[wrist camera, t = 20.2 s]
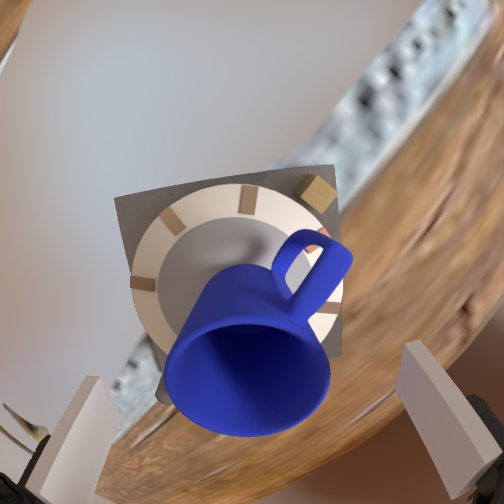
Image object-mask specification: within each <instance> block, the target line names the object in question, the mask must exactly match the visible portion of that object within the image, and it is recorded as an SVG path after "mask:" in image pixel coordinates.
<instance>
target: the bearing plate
mask: <svg viewBox="0 0 504 504" xmlns="http://www.w3.org/2000/svg"><path fill="white" fill-rule="evenodd" d="M230 183H237V184H251V185H257V186H262V187H265V188H269V189H272V190H275V191H277V192H279V193H281V194H283V195H286V196H288V197H289V198H291V199H292V200H294V201H295V202H297V203H298V204H300V205H301V206H303V207H304V208H305V209H306V210H308V211H309V212H310V213H311V214H312V215H313V216H314V217H315V218H316V219H317V220H318V221H319V222H320V223H321V225H322V226H323V227H325V229H326V230H327V232H328V233H329V235H330V236H331V238H332V239H333V240H335V241H337V242H338V243H340V227H339V212H338V200H337V195H338V192H337V188H336V178H335V168H334V165H323V166H311V167H301V168H291V169H282V170H273V171H265V172H257V173H249V174H243V175H235V176H228V177H222V178H215V179H209V180H203V181H197V182H191V183H185V184H180V185H174V186H169V187H164V188H158V189H153V190H149V191H144V192H139V193H135V194H130V195H125V196H121V197H116V198H114V200H115V205H116V211H117V216H118V221H119V225H120V230H121V235H122V239H123V244H124V248H125V252H126V256H127V260H128V264H129V268H130V272H131V275H132V267H133V261H134V257H135V254H136V251H137V248H138V245H139V243H140V241H141V239H142V237H143V235H144V234H145V232H146V231H147V229H148V228H149V226H150V225H151V224H152V222H153V221H154V220H155V219H156V218H157V217H158V216H159V214H160V213H161V212H163V211H164V210H165V209H166V208H167V207H168V206H170V205H172V204H173V203H175V202H177V201H178V200H180V199H182V198H183V197H185V196H187V195H189V194H191V193H194V192H196V191H198V190H201V189H203V188H207V187H211V186H215V185H221V184H230ZM341 303H342V299H341ZM149 336H150V335H149ZM150 339H151V342H152V344H153V347H154V350H155V353H156V356H157V358H158V361H159V364H160V367H161V369H162V372H163V371H164V367H165V362H166V359H167V356H168V355H167V354H166V353H165V352H164V351H163V350H162V349H161V348H160V347H159V346H158V345H157V344H156V343H155V342H154V341H153V339H152V338H151V337H150ZM320 344H321V346H322V347H323V349H324V351H325V353H326V355H327V358H332V357H338V356H341V352H342V305H341V309H340V312H339V314H337V317H336V319H335V321H334V324H333V326H332V328H331V329H330V331H329V332H328V334H327V335H326V337H325V338H324V340H323V341H322V342H321V343H320Z"/></svg>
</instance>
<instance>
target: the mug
mask: <svg viewBox="0 0 504 504" xmlns="http://www.w3.org/2000/svg"><path fill="white" fill-rule="evenodd" d="M310 245H318V246H320V247H321V248H323V250H322V253H321V254H320V256H319V257H318V259H317V260H316V262H315V264H314V265H313V267H312V268H311V270H310V271H309V273H308V274H307V276H306V277H305V278H304V280H303V281H302V283H301V284H300V286H299V287H298V289H297V290H296V291H295V293H294V294H292V292H291V290H290V288H289V287H288V285H287V283H286V280H285V276H286V273H287V271H288V270H289V268H290V266H291V265H292V263H293V262H294V260H295V259H296V257H297V256H298V255H299V254H300V253H301V252H302V251H303V250H304V249H305V248H306V247H308V246H310ZM352 262H353V256H352V254H351V252H350V251H349V250H348V249H346V248H345V247H344V246H343V245H342V244H340V243H338V242H337V241H335V240H333V239H332V238H330V237H328V236H326V235H324V234H322V233H320V232H318V231H315V230H311V229H300V230H298V231H295V232H294V233H292V234H291V235H290V236H289V237H288V238H287V240H286V241H285V242H284V243H283V245H282V246H281V247H280V249H279V251H278V252H277V254H276V256H275V258H274V260H273V262H272V266H271V270H269V269H267V268H265V267H262V266H259V265H255V264H238V265H234V266H230V267H228V268H225V269H223V270H222V271H220V272H218V273H217V274H216V275H214V276H213V277H212V278H211V279H210V280H209V281H208V283H207V284H206V286H205V287H204V289H203V290H202V292H201V294H200V296H199V298H198V300H197V301H196V303H195V305H194V307H193V309H192V311H191V312H190V314H189V316H188V318H187V320H186V322H185V324H184V325H183V327H182V329H181V331H180V333H179V335H178V337H177V339H176V340H175V342H174V344H173V346H172V348H171V350H170V352H169V354H168V356H167V359H166V362H165V367H164V382H165V387H166V390H167V393H168V395H169V397H170V398H171V400H172V402H173V403H174V405H175V406H176V407H177V408H178V409H179V410H180V412H181V413H182V414H183V415H185V416H186V417H187V418H188V419H190V420H191V421H193V422H194V423H196V424H197V425H199V426H201V427H203V428H206V429H208V430H211V431H213V432H217V433H220V434H224V435H230V436H238V437H257V436H265V435H270V434H274V433H278V432H281V431H284V430H286V429H289V428H291V427H293V426H295V425H297V424H298V423H300V422H302V421H303V420H305V419H306V418H307V417H308V416H310V415H311V414H312V413H313V412H314V411H315V410H316V409H317V408H318V406H319V405H320V404H321V402H322V401H323V399H324V397H325V395H326V393H327V391H328V388H329V384H330V376H331V373H330V365H329V361H328V358H327V355H326V353H325V351H324V349H323V347H322V346H321V344H320V342H319V340H318V338H317V337H316V335H315V333H314V331H313V329H312V328H311V326H310V324H309V322H308V319H309V318H310V317H311V316H312V315H314V314H315V313H316V312H317V311H318V310H319V309H320V308H321V307H322V306H323V304H324V303H325V302H326V301H327V300H328V298H329V297H330V296H331V294H332V293H333V292H334V290H335V289H336V288H337V286H338V285H339V284H340V282H341V281H342V279H343V278H344V276H345V274H346V273H347V271H348V270H349V268H350V266H351V264H352Z"/></svg>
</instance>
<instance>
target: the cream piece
mask: <svg viewBox="0 0 504 504" xmlns="http://www.w3.org/2000/svg"><path fill="white" fill-rule="evenodd" d="M300 229H311V230H315V231H318V232H320V233H322V234H324V235H326V236H328V237H330V238H331V236H330V235H329V233H328V232H327V230H326V229H325V227H323V226H322V225H321V223H320V222H319V221H318V220H317V219H316V218H315V217H314V216H313V215H312V214H311V213H310V212H309V211H308V210H306V209H305V208H304V207H303V206H301V205H300V204H298V203H297V202H295V201H294V200H292V199H291V198H289V197H288V196H286V195H283V194H281V193H279V192H277V191H275V190H272V189H269V188H265V187H262V186H257V185H251V184H237V183H230V184H221V185H215V186H211V187H207V188H203V189H201V190H198V191H196V192H194V193H191V194H189V195H187V196H185V197H183V198H182V199H180V200H178V201H177V202H175V203H173V204H172V205H170V206H168V207H167V208H166V209H165V210H164V211H163V212H161V213H160V214H159V216H158V217H157V218H156V219H155V220H154V221H153V222H152V224H151V225H150V226H149V228H148V229H147V231H146V232H145V234H144V235H143V237H142V239H141V241H140V243H139V245H138V248H137V251H136V254H135V257H134V261H133V267H132V275H131V276H130V288H132V295H133V300H134V304H135V308H136V311H137V313H138V316H139V318H140V320H141V323H142V324H143V326H144V328H145V330H146V331H147V333H148V334H149V335H150V337H151V338H152V339H153V341H154V342H155V343H156V344H157V345H158V346H159V347H160V348H161V349H162V350H163V351H164V352H165V353H166V354H167V355H168V354H169V352H170V350H171V348H172V346H173V344H174V342H175V340H176V339H177V337H178V335H179V333H180V331H181V329H182V327H183V325H184V324H185V322H186V320H187V318H188V316H189V314H190V312H191V311H192V309H193V307H194V305H195V303H196V301H197V300H198V298H199V296H200V294H201V292H202V290H203V289H204V287H205V286H206V284H207V283H208V281H209V280H210V279H211V278H212V277H213V276H214V275H216V274H217V273H218V272H220V271H222V270H223V269H225V268H228V267H230V266H234V265H238V264H255V265H259V266H262V267H265V268H267V269H269V270H271V266H272V262H273V260H274V258H275V256H276V254H277V252H278V251H279V249H280V247H281V246H282V245H283V243H284V242H285V241H286V240H287V238H288V237H289V236H290V235H291V234H292V233H294V232H295V231H298V230H300ZM322 250H323V248H321V247H320V246H318V245H310V246H308V247H306V248H305V249H304V250H303V251H302V252H301V253H300V254H299V255H298V256H297V257H296V259H295V260H294V262H293V263H292V265H291V266H290V268H289V270H288V271H287V273H286V276H285V280H286V283H287V285H288V287H289V288H290V290H291V292H292V294H294V293H295V291H296V290H297V289H298V287H299V286H300V284H301V283H302V281H303V280H304V278H305V277H306V276H307V274H308V273H309V271H310V270H311V268H312V267H313V265H314V264H315V262H316V260H317V259H318V257H319V256H320V254H321V253H322ZM342 293H343V279H342V281H341V282H340V284H339V285H338V286H337V288H336V289H335V290H334V292H333V293H332V294H331V296H330V297H329V298H328V300H327V301H326V302H325V303H324V304H323V306H322V307H321V308H320V309H319V310H318V311H317V312H316V313H315V314H314V315H312V316H311V317H310V318H309V319H308V322H309V324H310V326H311V328H312V329H313V331H314V333H315V335H316V337H317V338H318V340H319V342H320V343H321V342H322V341H323V340H324V338H325V337H326V335H327V334H328V332H329V331H330V329H331V328H332V326H333V324H334V321H335V319H336V317H337V314H339V312H340V309H341V305H342V303H341V299H342ZM155 396H156V398H157V400H158V401H160V402H161V403H163V404H167V405H172V404H174V403H173V402H172V400H171V398H170V397H169V395H168V393H167V390H166V387H165V382H164V371H163V373H162V376H161V379H160V382H159V385H158V387H157V390H156V393H155Z"/></svg>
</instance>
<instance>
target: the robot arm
mask: <svg viewBox="0 0 504 504" xmlns="http://www.w3.org/2000/svg"><path fill="white" fill-rule="evenodd" d="M395 390H396V392H397V394H398V396H399V397H400V399H401V401H402V403H403V405H404V406H405V408H406V410H407V412H408V414H409V416H410V417H411V419H412V421H413V423H414V425H415V427H416V429H417V430H418V433H419V434H420V436H421V438H422V440H423V442H424V444H425V446H426V448H427V450H428V452H429V454H430V456H431V458H432V460H433V462H434V464H435V466H436V468H437V470H438V472H439V474H440V476H441V478H442V480H443V482H444V485H445V487H446V489H447V491H448V493H449V495H450V498H451V499H452V500H453V499H455V498H456V497H458V496H460V495H462V494H464V493H466V492H468V491H469V490H470V489H471V488H472V487H473V486H474V485H475V484H476V486H477V489H476V490H475V491H474V492H473V493H472V494H471V495H470V496H469V498H468V500H467V501H470V500H471V499H472V498H473V497H474V498H473V502H472V504H504V426H503V425H502V424H501V422H500V421H499V420H498V418H496V417H495V414H494V413H493V412H492V411H491V410H490V407H489V406H488V405H487V403H486V402H485V401H484V400H483V399H482V398H480V397H478V396H477V395H475V394H472V395H469V396H467V397H464V395H463V394H462V393H461V392H460V390H459V389H458V387H457V386H456V385H455V384H454V382H453V381H452V380H451V378H450V377H449V376H448V374H447V373H446V372H445V371H444V369H443V368H442V367H441V366H440V364H439V363H438V362H437V361H436V359H435V358H434V357H433V356H432V354H431V353H430V352H429V351H428V349H427V348H426V347H425V346H424V345H423V343H422V342H421V341H420V340H415V341H412V342H408V343H405V344H404V348H403V354H402V359H401V364H400V369H399V374H398V378H397V383H396V387H395ZM121 419H122V415H121V414H120V412H119V410H118V409H117V407H116V405H115V403H114V402H113V400H112V398H111V396H110V395H109V393H108V391H107V389H106V387H105V385H104V384H103V382H102V380H101V378H100V377H99V376H86V378H85V379H84V381H83V383H82V384H81V386H80V388H79V389H78V391H77V392H76V394H75V396H74V397H73V399H72V401H71V402H70V404H69V406H68V407H67V409H66V411H65V413H64V414H63V416H62V418H61V419H60V421H59V423H58V425H57V426H56V428H55V430H54V432H53V433H52V435H47V436H46V437H45V438H44V439H42V440H41V441H40V443H39V445H38V446H37V448H36V452H34V454H33V456H32V459H30V461H29V463H28V465H27V467H26V469H25V471H24V473H23V475H22V477H21V479H20V481H19V482H18V484H17V485H16V484H15V483H14V482H13V481H12V480H11V479H10V478H9V477H7V476H6V475H5V474H4V473H1V472H0V504H90V502H91V500H92V497H93V494H94V491H95V488H96V485H97V482H98V480H99V477H100V474H101V471H102V469H103V466H104V463H105V461H106V458H107V455H108V453H109V450H110V447H111V445H112V442H113V440H114V437H115V434H116V432H117V429H118V427H119V424H120V422H121Z"/></svg>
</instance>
